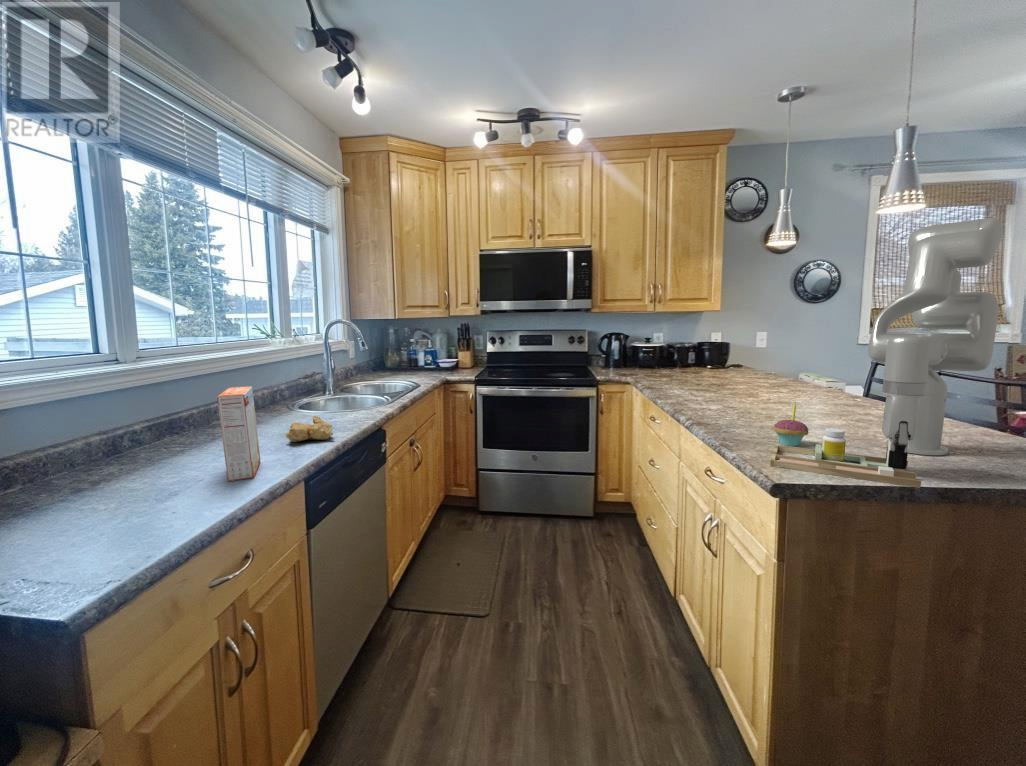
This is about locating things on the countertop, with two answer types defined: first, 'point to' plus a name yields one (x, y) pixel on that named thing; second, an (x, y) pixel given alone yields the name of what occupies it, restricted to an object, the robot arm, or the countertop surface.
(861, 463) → the green handled square frame
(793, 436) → the cupcake
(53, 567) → the countertop surface
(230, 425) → the cracker box
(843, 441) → the supplement bottle
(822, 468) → the lane rails
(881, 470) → the broken strip
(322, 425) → the ginger root
